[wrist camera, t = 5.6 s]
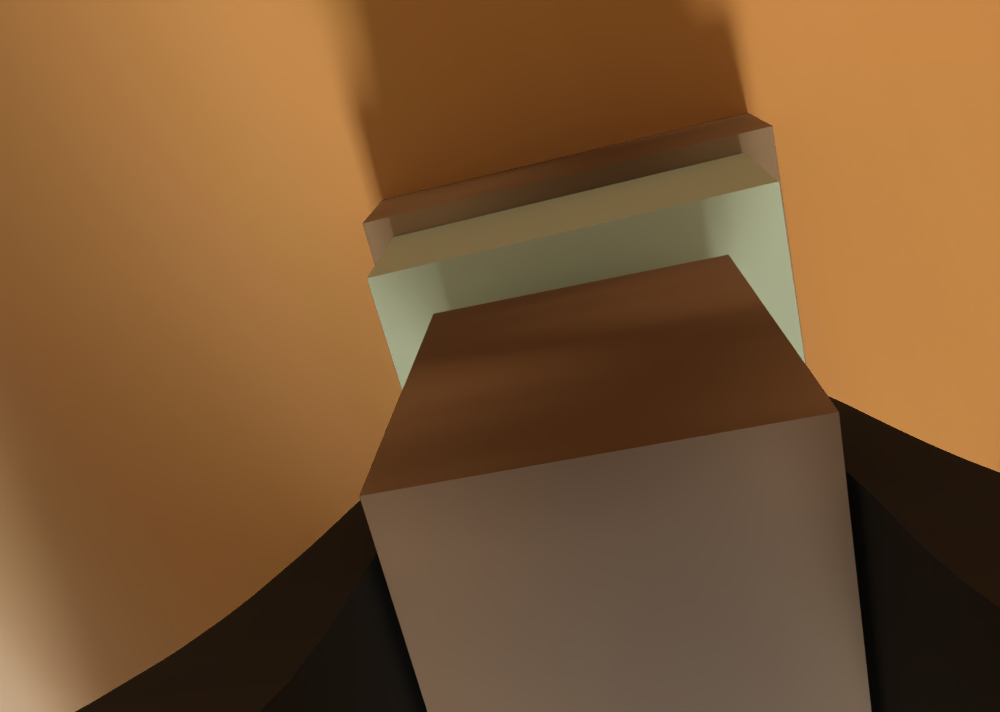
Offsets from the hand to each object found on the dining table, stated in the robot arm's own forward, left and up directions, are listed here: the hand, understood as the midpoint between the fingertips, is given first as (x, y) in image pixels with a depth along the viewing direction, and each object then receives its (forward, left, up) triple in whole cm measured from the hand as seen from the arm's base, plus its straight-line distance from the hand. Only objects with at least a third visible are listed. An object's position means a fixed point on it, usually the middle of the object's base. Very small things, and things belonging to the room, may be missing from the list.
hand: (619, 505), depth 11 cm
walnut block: (0, 0, -2) cm, 2 cm away
